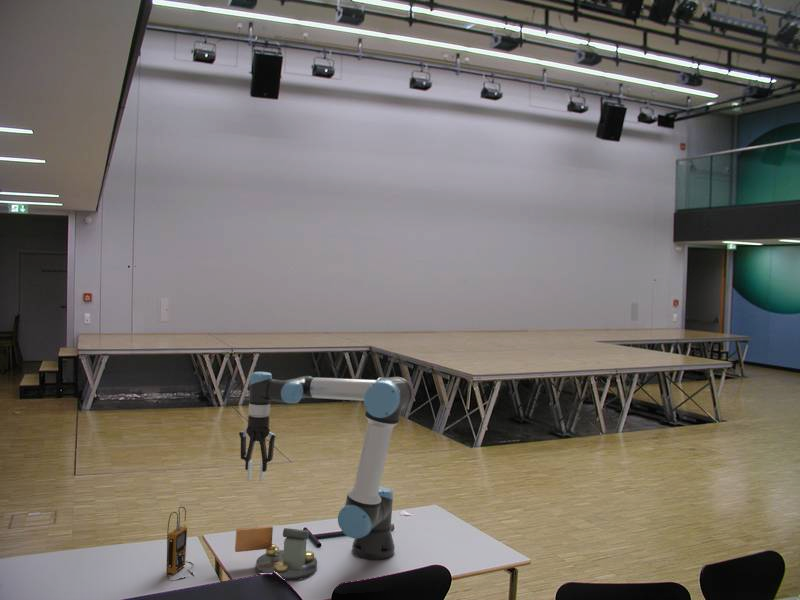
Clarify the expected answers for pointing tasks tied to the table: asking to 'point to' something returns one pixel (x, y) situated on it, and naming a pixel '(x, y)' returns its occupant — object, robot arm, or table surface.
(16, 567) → the table surface
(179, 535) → the multimeter
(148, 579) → the table surface
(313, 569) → the tribrach plate
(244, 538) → the lever
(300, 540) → the wedge with rod handle
